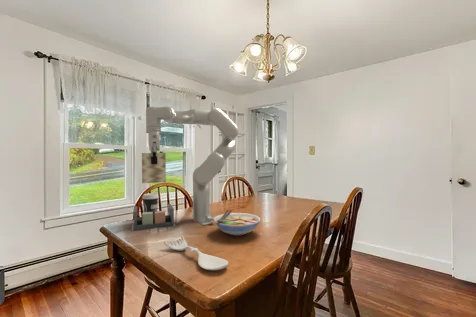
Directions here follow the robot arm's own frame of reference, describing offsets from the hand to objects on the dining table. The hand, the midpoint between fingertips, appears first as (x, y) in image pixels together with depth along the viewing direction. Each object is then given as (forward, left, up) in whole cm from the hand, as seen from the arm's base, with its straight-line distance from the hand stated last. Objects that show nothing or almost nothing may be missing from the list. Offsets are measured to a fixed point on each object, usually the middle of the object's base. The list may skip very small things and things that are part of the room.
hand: (154, 163), depth 127 cm
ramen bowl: (-47, 0, -34) cm, 58 cm away
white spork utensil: (-40, +30, -34) cm, 61 cm away
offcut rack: (-2, +4, -34) cm, 34 cm away
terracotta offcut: (-6, +4, -32) cm, 33 cm away
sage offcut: (-2, +8, -32) cm, 33 cm away
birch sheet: (0, 0, -10) cm, 10 cm away
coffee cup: (+10, -9, -34) cm, 36 cm away
